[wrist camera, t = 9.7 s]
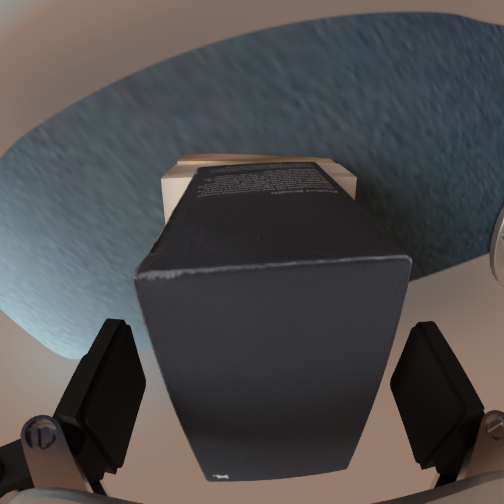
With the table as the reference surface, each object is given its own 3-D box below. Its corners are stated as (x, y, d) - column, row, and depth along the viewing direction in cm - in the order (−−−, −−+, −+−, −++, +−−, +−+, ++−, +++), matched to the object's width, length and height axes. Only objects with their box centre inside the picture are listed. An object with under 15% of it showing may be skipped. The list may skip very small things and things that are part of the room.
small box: (317, 325, 20) (352, 474, 11) (215, 332, 20) (201, 484, 11) (324, 158, 15) (431, 259, 6) (192, 165, 15) (112, 278, 6)
